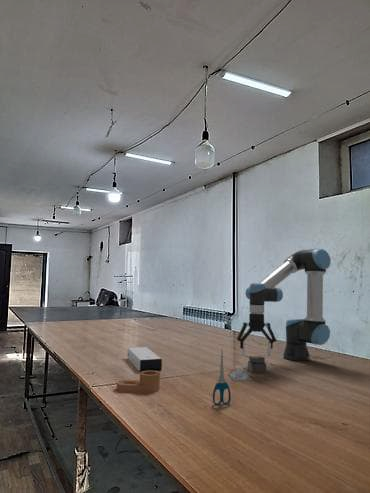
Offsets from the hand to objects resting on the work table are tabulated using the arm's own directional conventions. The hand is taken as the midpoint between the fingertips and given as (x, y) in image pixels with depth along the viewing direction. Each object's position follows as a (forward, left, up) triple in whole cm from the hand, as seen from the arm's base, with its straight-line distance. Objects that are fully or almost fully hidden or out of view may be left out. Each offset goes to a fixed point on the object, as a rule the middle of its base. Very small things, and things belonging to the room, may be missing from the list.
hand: (256, 355), depth 187 cm
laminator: (+58, -19, -9) cm, 62 cm away
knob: (0, 0, -8) cm, 8 cm away
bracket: (+59, +27, -9) cm, 66 cm away
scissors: (+28, +48, -8) cm, 56 cm away
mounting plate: (+12, +11, -8) cm, 18 cm away
